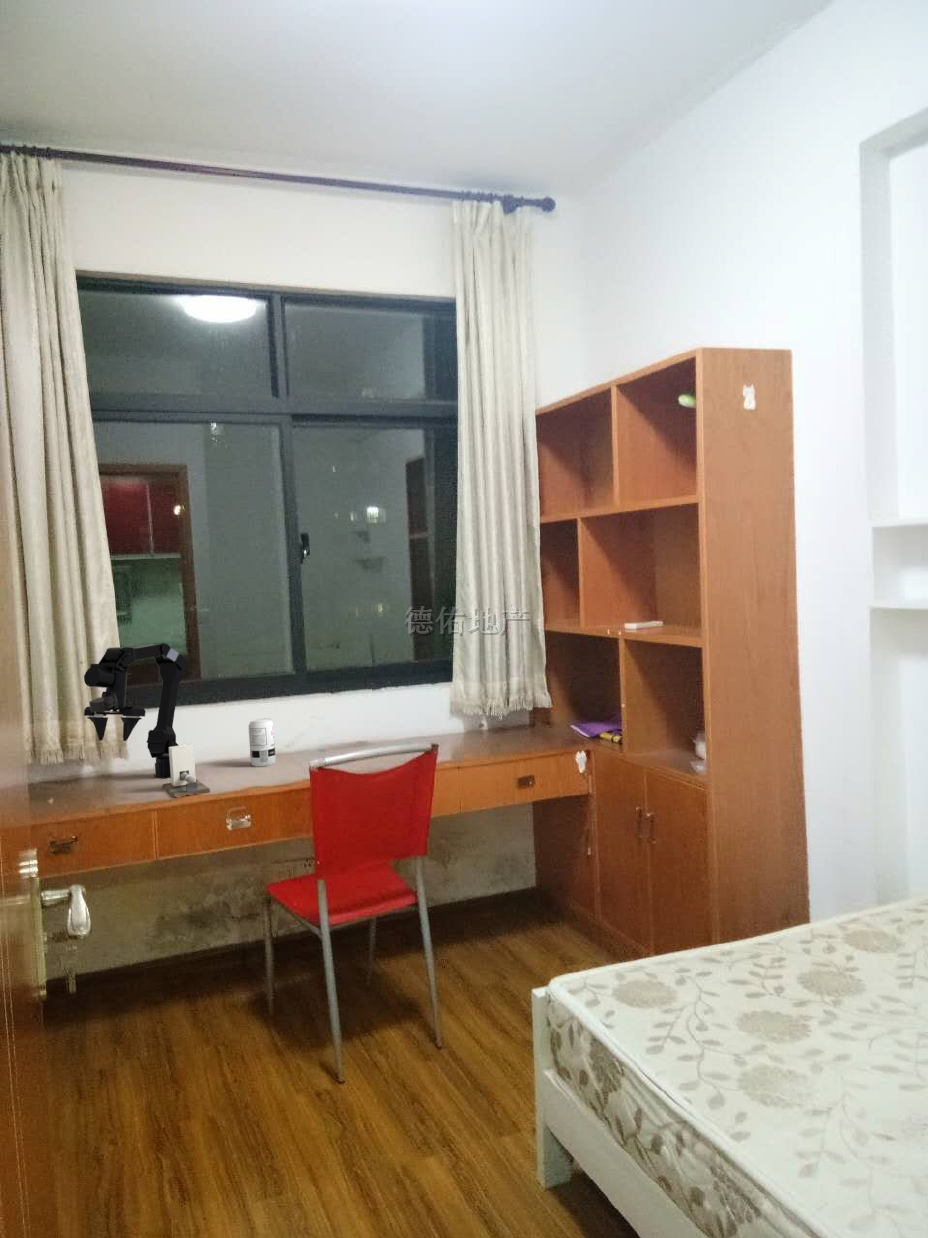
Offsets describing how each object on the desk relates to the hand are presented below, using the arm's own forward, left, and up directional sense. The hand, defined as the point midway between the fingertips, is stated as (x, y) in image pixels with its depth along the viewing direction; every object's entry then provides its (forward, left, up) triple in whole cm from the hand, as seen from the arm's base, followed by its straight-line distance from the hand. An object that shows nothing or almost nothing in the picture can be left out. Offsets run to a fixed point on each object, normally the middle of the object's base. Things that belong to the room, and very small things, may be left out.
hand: (112, 740), depth 263 cm
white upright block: (-14, +13, -15) cm, 24 cm away
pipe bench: (-13, +16, -16) cm, 26 cm away
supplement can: (-48, +9, -16) cm, 51 cm away
